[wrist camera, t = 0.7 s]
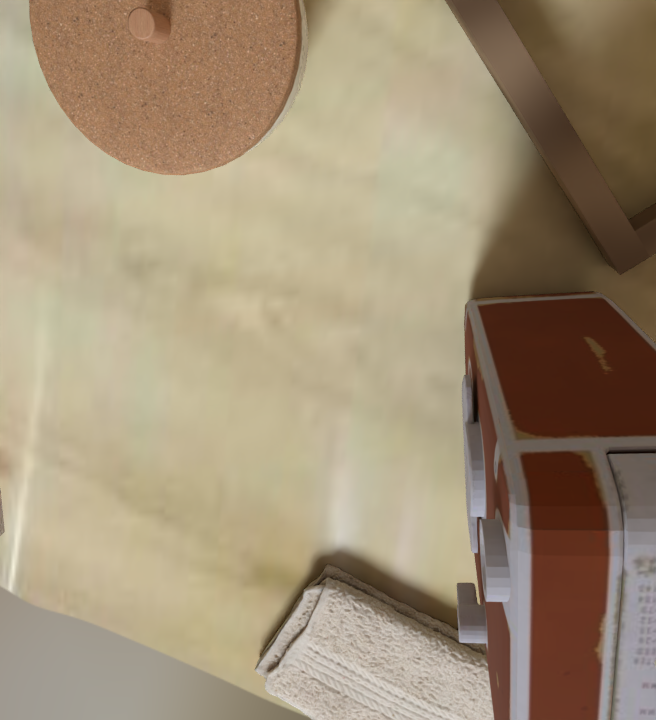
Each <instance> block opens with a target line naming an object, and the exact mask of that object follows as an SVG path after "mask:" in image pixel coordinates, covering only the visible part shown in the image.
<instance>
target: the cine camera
mask: <svg viewBox="0 0 656 720" xmlns="http://www.w3.org/2000/svg"><path fill="white" fill-rule="evenodd" d="M464 328H465V366H466V375H464V378H463V382H462V406H463V430H464V454H465V478H466V502H467V516H468V525H469V534H470V542H471V551H472V553H474V554H475V562H476V571H477V579H478V588H479V596H480V605H479V604H478V603H477V597H476V590H475V585H474V584H473V583H457V598H458V605H457V614H458V633H459V642H460V643H485V647H486V655H487V663H488V672H489V680H490V689H491V697H492V705H493V714H494V720H656V667H655V664H654V662H655V660H656V344H655V343H654V342H653V341H652V340H651V339H650V338H649V337H648V336H647V335H646V334H645V333H644V332H643V331H642V330H641V329H640V328H639V327H638V326H637V325H636V324H635V323H634V322H633V321H632V320H631V319H630V318H629V317H628V316H627V315H626V314H625V313H624V312H623V311H622V310H621V309H620V308H619V307H618V306H617V305H616V304H615V303H614V302H613V301H611V300H610V299H609V298H607V297H606V296H604V295H603V294H601V293H598V292H593V291H592V292H575V293H557V294H540V295H523V296H506V297H491V298H480V299H474V300H471V301H468V302H467V303H466V305H465V321H464Z"/></svg>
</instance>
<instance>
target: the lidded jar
mask: <svg viewBox="0 0 656 720" xmlns="http://www.w3.org/2000/svg"><path fill="white" fill-rule="evenodd" d="M29 3H30V23H31V29H32V36H33V42H34V46H35V50H36V53H37V57H38V60H39V64H40V67H41V69H42V71H43V74H44V76H45V78H46V81H47V83H48V86H49V88H50V89H51V91H52V93H53V95H54V96H55V98H56V100H57V102H58V103H59V105H60V107H61V108H62V110H63V111H64V112H65V113H66V115H67V116H68V117H69V119H70V120H71V121H72V123H73V124H74V125H75V126H76V127H77V128H78V129H79V130H80V131H81V132H82V133H83V134H84V135H85V136H86V137H87V138H88V139H89V140H90V141H91V142H92V143H94V144H95V145H96V146H97V147H99V148H100V149H101V150H103V151H104V152H105V153H107V154H108V155H110V156H112V157H114V158H116V159H117V160H119V161H121V162H123V163H125V164H127V165H130V166H133V167H135V168H138V169H141V170H143V171H148V172H153V173H158V174H164V175H186V174H193V173H200V172H205V171H208V170H211V169H214V168H217V167H220V166H223V165H225V164H227V163H229V162H231V161H233V160H234V159H236V158H238V157H240V156H242V155H243V154H245V153H247V152H249V151H250V150H252V149H254V148H255V147H256V146H258V145H259V144H260V143H261V142H263V141H264V140H265V139H266V138H268V137H269V135H270V134H271V133H272V132H273V131H274V130H275V129H276V128H277V127H278V126H279V125H280V123H281V122H282V121H283V119H284V118H285V116H286V115H287V113H288V112H289V110H290V109H291V107H292V105H293V103H294V101H295V99H296V97H297V94H298V92H299V90H300V87H301V83H302V80H303V76H304V73H305V69H306V61H307V54H308V25H307V18H306V11H305V6H304V2H303V0H29Z"/></svg>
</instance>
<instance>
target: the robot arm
mask: <svg viewBox="0 0 656 720" xmlns="http://www.w3.org/2000/svg"><path fill="white" fill-rule="evenodd" d="M4 532H5V531H4V521H3V511H2V500H1V490H0V536H1V535H2V534H3V533H4ZM654 664H655V667H656V660H655V662H654Z"/></svg>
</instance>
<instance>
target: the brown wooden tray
mask: <svg viewBox="0 0 656 720" xmlns="http://www.w3.org/2000/svg"><path fill="white" fill-rule="evenodd" d="M445 1H446V2H447V4H448V6H449V7H450V9H451V11H452V12H453V14H454V15H455V17H456V19H457V20H458V22H459V23H460V25H461V27H462V28H463V30H464V32H465V33H466V35H467V36H468V38H469V40H470V41H471V43H472V44H473V46H474V48H475V49H476V51H477V53H478V54H479V56H480V57H481V59H482V61H483V62H484V64H485V65H486V67H487V69H488V70H489V72H490V74H491V75H492V77H493V78H494V80H495V82H496V83H497V85H498V87H499V88H500V90H501V91H502V93H503V95H504V96H505V98H506V99H507V101H508V103H509V104H510V106H511V108H512V109H513V111H514V112H515V114H516V116H517V117H518V119H519V120H520V122H521V124H522V125H523V127H524V129H525V130H526V132H527V133H528V135H529V137H530V138H531V140H532V142H533V143H534V145H535V146H536V148H537V150H538V151H539V153H540V154H541V156H542V158H543V159H544V161H545V163H546V164H547V166H548V167H549V169H550V171H551V172H552V174H553V175H554V177H555V179H556V180H557V182H558V184H559V185H560V187H561V188H562V190H563V192H564V193H565V195H566V197H567V198H568V200H569V201H570V203H571V205H572V206H573V208H574V209H575V211H576V213H577V214H578V216H579V218H580V219H581V221H582V222H583V224H584V226H585V227H586V229H587V230H588V232H589V234H590V235H591V237H592V239H593V240H594V242H595V243H596V245H597V247H598V248H599V250H600V252H601V253H602V255H603V256H604V258H605V260H606V261H607V263H608V264H609V266H611V267H612V268H613V269H614V270H615V271H617V272H618V273H619V274H620V275H621V274H622V273H624V272H626V271H627V270H629V269H631V268H632V267H634V266H636V265H637V264H639V263H641V262H642V261H644V260H646V259H647V258H649V257H651V256H652V255H654V254H656V203H655V204H653V205H652V206H650V207H649V208H647V209H645V210H644V211H642V212H641V213H639V214H637V215H636V216H634V217H633V218H631V219H629V220H628V219H627V217H626V216H625V214H624V212H623V211H622V209H621V207H620V206H619V204H618V202H617V201H616V199H615V197H614V196H613V194H612V192H611V191H610V189H609V187H608V186H607V184H606V182H605V180H604V179H603V177H602V175H601V174H600V172H599V170H598V169H597V167H596V165H595V164H594V162H593V160H592V159H591V157H590V155H589V154H588V152H587V150H586V149H585V147H584V145H583V144H582V142H581V140H580V139H579V137H578V135H577V134H576V132H575V130H574V129H573V127H572V125H571V124H570V122H569V120H568V119H567V117H566V115H565V114H564V112H563V110H562V109H561V107H560V105H559V104H558V102H557V100H556V98H555V97H554V95H553V93H552V92H551V90H550V88H549V87H548V85H547V83H546V82H545V80H544V78H543V77H542V75H541V73H540V72H539V70H538V68H537V67H536V65H535V63H534V62H533V60H532V58H531V57H530V55H529V53H528V52H527V50H526V48H525V47H524V45H523V43H522V42H521V40H520V38H519V37H518V35H517V33H516V32H515V30H514V28H513V27H512V25H511V23H510V22H509V20H508V18H507V16H506V15H505V13H504V11H503V10H502V8H501V6H500V5H499V3H498V1H497V0H445Z"/></svg>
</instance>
